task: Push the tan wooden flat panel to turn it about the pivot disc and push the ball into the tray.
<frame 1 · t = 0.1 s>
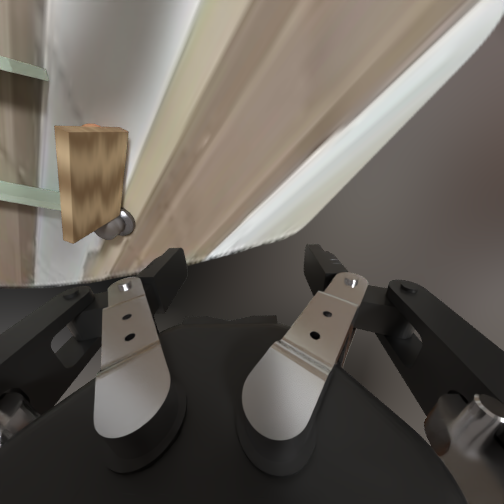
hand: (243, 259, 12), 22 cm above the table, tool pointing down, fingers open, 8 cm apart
pivot disc: (119, 220, 35), on the table
tray: (4, 133, 28), on the table
tan wooden flat panel: (96, 196, 26), point 6 cm above the table, hinge at 0.0°
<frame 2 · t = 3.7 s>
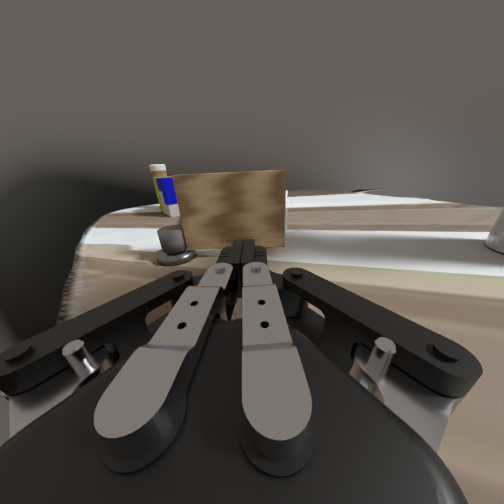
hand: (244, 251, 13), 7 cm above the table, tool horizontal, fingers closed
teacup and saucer: (273, 204, 64), on the table
pivot disc: (177, 256, 28), on the table
sprinkles bottle: (167, 207, 64), on the table
puzzle toy: (182, 212, 58), on the table
tan wooden flat panel: (218, 213, 25), point 6 cm above the table, hinge at 0.0°
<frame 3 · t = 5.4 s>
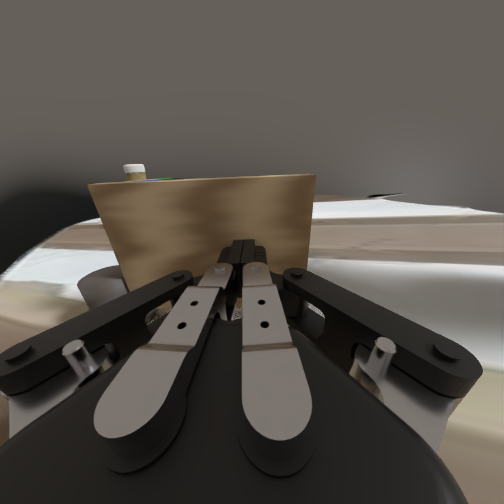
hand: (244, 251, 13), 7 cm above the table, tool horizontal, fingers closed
sprinkles bottle: (148, 217, 53), on the table
tan wooden flat panel: (186, 251, 14), point 6 cm above the table, hinge at 0.0°, touching gripper
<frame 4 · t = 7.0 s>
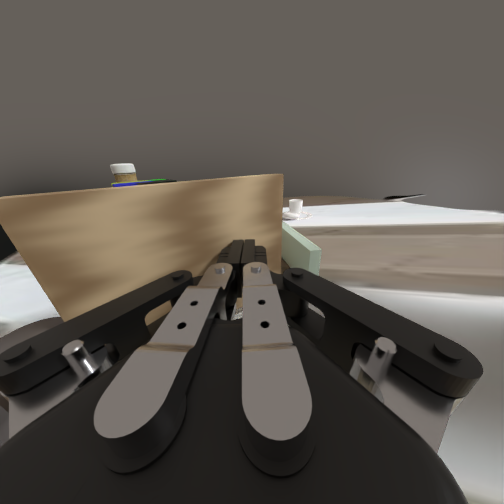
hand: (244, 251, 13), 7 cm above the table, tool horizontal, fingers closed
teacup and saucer: (282, 218, 47), on the table
pivot disc: (66, 392, 11), on the table
sprinkles bottle: (140, 222, 48), on the table
tray: (225, 260, 26), on the table
tan wooden flat panel: (163, 269, 12), point 6 cm above the table, hinge at 32.3°, touching gripper
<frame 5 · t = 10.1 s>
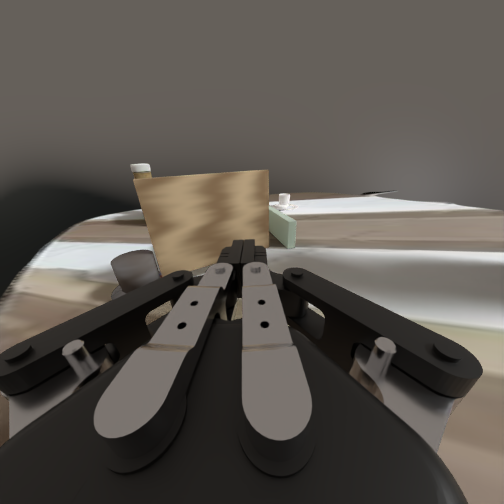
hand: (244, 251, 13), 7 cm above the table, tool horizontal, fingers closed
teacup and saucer: (273, 209, 56), on the table
sprinkles bottle: (153, 213, 56), on the table
tray: (229, 235, 35), on the table
tan wooden flat panel: (200, 224, 21), point 6 cm above the table, hinge at 32.3°
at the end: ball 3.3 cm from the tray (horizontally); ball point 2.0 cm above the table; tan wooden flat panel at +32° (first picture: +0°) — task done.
